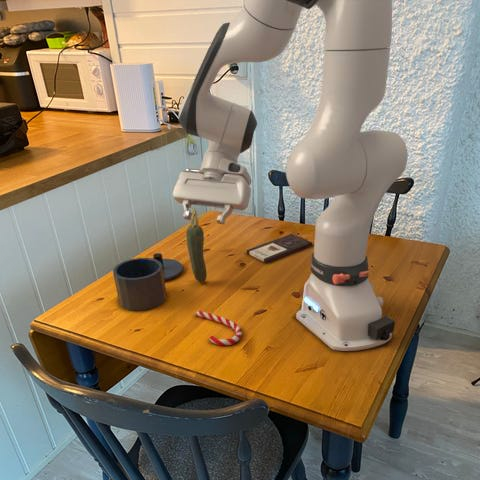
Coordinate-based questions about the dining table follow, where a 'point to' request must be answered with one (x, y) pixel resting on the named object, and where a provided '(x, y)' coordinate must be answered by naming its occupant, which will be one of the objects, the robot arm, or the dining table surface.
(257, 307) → the dining table surface
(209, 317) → the candy cane
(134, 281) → the dark grey pot
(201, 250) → the vegetable
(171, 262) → the lid
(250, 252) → the chocolate bar
